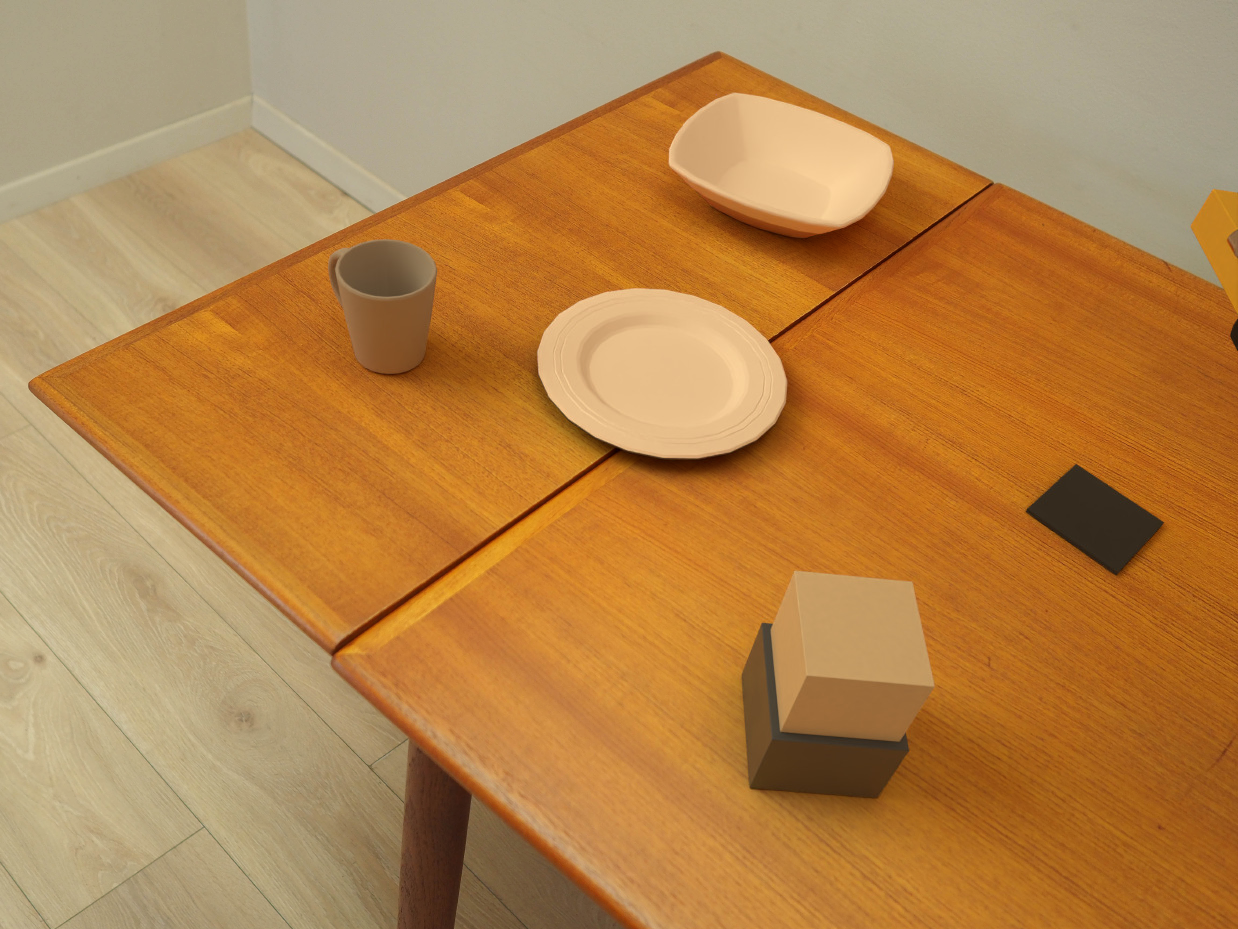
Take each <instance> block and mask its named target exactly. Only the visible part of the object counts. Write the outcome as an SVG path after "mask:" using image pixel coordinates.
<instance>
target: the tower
mask: <svg viewBox="0 0 1238 929" xmlns="http://www.w3.org/2000/svg"><path fill="white" fill-rule="evenodd" d="M932 670H933V669H932V665H931V661H930V657H929V652H928V648H927V643H926V638H925V632H924V629H923V624H922V618H921V615H920V609H919V605H918V601H917V596H916V591H915V587H914V582H913V581H909V580H899V579H887V578H878V577H877V578H876V577H867V576H858V575H857V576H856V575H847V574H836V573H825V572H815V571H805V570H794V571H793V572H792V575H791V578H790V580H789V583H788V585H787V588H786V591H785V593H784V595H783V597H782V600H781V603H780V606H779V607H778V611H777V612H776V615H775V618H774V620H773V623H771V622H769V623H768V622H761V624H760V626H759V629H758V631H757V634H756V636H755V639H754V642H753V644H752V647H751V649H750V651H749V654H748V657H747V660H746V662H745V665H744V667H743V670H742V671H741V687H742V688H741V689H742V702H743V716H744V718H743V719H744V731H745V732H744V733H745V744H746V746H745V747H746V758H747V759H746V760H747V772H748V773H747V774H748V775H747V776H748V787H749V789H755V790H769V791H780V792H781V791H782V792H794V793H807V794H819V795H833V796H843V797H844V796H845V797H855V798H858V797H859V798H871V799H878V798H879V797H880V795H881V794H882V792H883V791H884V789H885V788H886V787H887V785H888V784H889V782H890V780H892V778H893V776H894V775H895V773H896V771H897V770H898V769H899V767H900V766H901V764H902V763H903V761H904V759H905V758H906V757H907V755H908V754H909V752H910V748H909V741H908V736H907V731H908V730H909V728H910V727H911V725H912V723H913V722H914V720H915V718H916V717H917V716H918V714H919V713H920V711H921V709H922V707H923V706H924V704H925V703H926V701H927V700H928V699H929V697H930V695H931V694H932V693H933V691H934V689H935V688H936V685H935V679H934V675H933V671H932Z"/></svg>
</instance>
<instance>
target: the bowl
mask: <svg viewBox="0 0 1238 929" xmlns="http://www.w3.org/2000/svg"><path fill="white" fill-rule="evenodd" d="M668 149H669V150H668V166H669V168H671V170H672V171H673V172H675V174H677V175H678V176H679V178H680V179H682V180H683V181H684V182H685V183H686V184H687V185H688V186H689V187H690V188H691V189H693V190H694V191H695V192H696V193H697V195H698V194H699V196H700V197H701V198H702V199H703V200H704V201H705V202H707V203H708V205H710V206H711V207H712V208H714V209H715V210H717V211H719V212H721V213H723V214H725V215H727V216H729V217H731V218H733V219H734V220H737V221H739V222H741V223H744V224H745V225H749V226H751V227H754V228H757V229H759V230H763V231H765V232H770V233H774V234H778V235H782V236H786V237H790V238H797V239H806V238H810V237H814V236H818V235H821V234H826V233H830V232H833V231H837V230H840V229H844V228H846V227H848V226H850V225H853V224H854V223H856V222H858V221H861V220H862V219H863V218H864V217H865V216H866V215H868V214H869V213H870V212H871V211H872V210H873V209H874V208H875V207H876V205H877V204H878V203H879V202H880V200H881V199H882V198H883V196H884V195H885V194H886V192H887V190H888V187H889V185H890V181H891V179H892V177H893V171H894V164H895V161H894V155H893V152H892V148H891V146H890V145H889V144H888V143H886V142H884V141H883V140H881V139H880V138H878V137H876V136H874V135H872V134H871V133H869V132H867V131H865V130H863V129H860V128H858V127H857V126H856V127H855V126H853V125H851V124H849V123H846V122H844V121H842V120H839V119H836V118H834V117H831V116H829V115H826V114H823V113H821V112H819V111H815V110H812V109H808V108H805V107H802V106H798V105H795V104H792V103H789V102H784V101H780V100H778V99H777V100H776V99H772V98H769V97H765V96H761V95H755V94H748V93H743V92H731V93H729V94H726V95H724V96H723V95H722V96H721V97H718V98H715V99H713V100H712V101H711V102H709V103H707V104H705V105H704V106H702V107H700V108H699V109H698V110H697V111H696V112H695V113H694V114H692V115H691V116H690V117H689V118H688V119H686V120H685V122H684V123H683V125H682V126H681V127H680V128H679V129H678V131H677V132H676V134H675V136H674V138H673V140H672V142H671V144H670V146H669V148H668Z"/></svg>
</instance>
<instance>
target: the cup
mask: <svg viewBox="0 0 1238 929" xmlns="http://www.w3.org/2000/svg"><path fill="white" fill-rule="evenodd" d="M327 269H328V277H329V281H330V285H331V288H332V291H333V293H334V296H335V298H336V299H337V301H338V303H339V305H340V307H341V308H342V310H343V315H344V319H345V322H346V326H347V330H348V334H349V338H350V342H351V345H352V346H351V347H352V349H353V353H354V357H355V358H356V360H357V362H358V363H359V364H360V365H361V366H362V367H363V368H365V369H368V371H371V372H374V373H379V374H384V375H385V374H386V375H396V374H402V373H405V372H409V371H411V370H412V369H415V368H416V367H418V366H419V365H420V364H421V363H422V362H423V360H424V358H425V357H426V356H425V355H426V351H427V343H428V339H429V333H430V326H431V321H432V315H433V308H434V300H435V292H436V284H437V276H438V268H437V264H436V261H435V260H434V259H433V257H432V256H431V255H430V254H429V252H427V251H426V250H425V249H423V248H422V247H420V246H418V245H416V244H414V243H411V242H407V241H403V240H399V239H388V238H383V239H372V240H368V241H363V242H360V243H357V244H355V245H354V246H351V247H343V248H339V249H337V250H335V251H334V252H333V253H331V254H330V255H329V258H328V264H327Z"/></svg>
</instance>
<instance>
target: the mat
mask: <svg viewBox="0 0 1238 929" xmlns="http://www.w3.org/2000/svg"><path fill="white" fill-rule="evenodd" d="M1025 513H1027V514H1028V515H1030V516H1031V517H1032V518H1034V519H1035V520H1037V521H1038V522H1040V524H1042V525H1044V527H1045V526H1046V527H1047V528H1048V529H1049V530H1051V531H1052V532H1054V533H1055V534H1057V535H1058V536H1059V537H1061V538H1062V539H1063V540H1065V541H1067V542H1068V543H1069V544H1071V545H1072V546H1074V547H1075V548H1077V549H1078V550H1079V551H1080V552H1082V553H1084V554H1085V555H1086V556H1088V558H1090V559H1092V560H1093V561H1095V562H1096V563H1098V564H1099V565H1100V566H1102V567H1103V568H1105V569H1106V570H1107V571H1109V572H1110V573H1112V574H1113V575H1114V576H1117V575H1118V574H1119V573H1120V572H1121V571H1122V570H1123V568H1125V566H1126V565H1128V563H1129V562H1130V561H1131V560H1132V559H1133V558H1134V557H1135V556H1136V555H1137V553H1138V552H1139V551H1140V550H1141V549H1142V548H1143V547H1144V546H1145V545H1146V544H1147V543H1148V541H1149V540H1151V538H1152V537H1153V536H1154V535H1155V534H1156V533H1157V532H1158V531H1159V529H1160V528H1162V526H1163V525H1164V524H1165V521H1163V520H1162V519H1160V518H1159V517H1157V516H1155V515H1154V514H1152V513H1151V512H1149V511H1148V510H1147V509H1145V508H1144V507H1142V506H1140V505H1139V504H1138V503H1136V502H1134V501H1133V500H1131V499H1130V498H1128V497H1127V496H1125V495H1124V494H1123V493H1121V492H1120V491H1118V490H1116V489H1115V488H1114V487H1112V486H1111V485H1109V484H1108V483H1106V482H1105V481H1103V480H1102V479H1100V478H1099V477H1097V476H1095V475H1094V474H1093V473H1091V472H1089V471H1088V470H1086V469H1085V468H1084V467H1082V466H1080V465H1079V464H1078V463H1075V464H1074V465H1073V466H1072V467H1071V468H1070V469H1069V470H1068V471H1066V473H1064V474H1063V475H1062V476H1061V477H1060V478H1059V479H1057V481H1056V482H1054V483H1053V484H1052V485H1051V486H1050V487H1049V488H1047V490H1046V491H1045V492H1044V493H1042V494H1041V495H1040V496H1039V497H1038V498H1037V499H1036V500H1035V501H1034V502H1033V503H1031V505H1029V506H1028V507H1027V508H1026V510H1025Z"/></svg>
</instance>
